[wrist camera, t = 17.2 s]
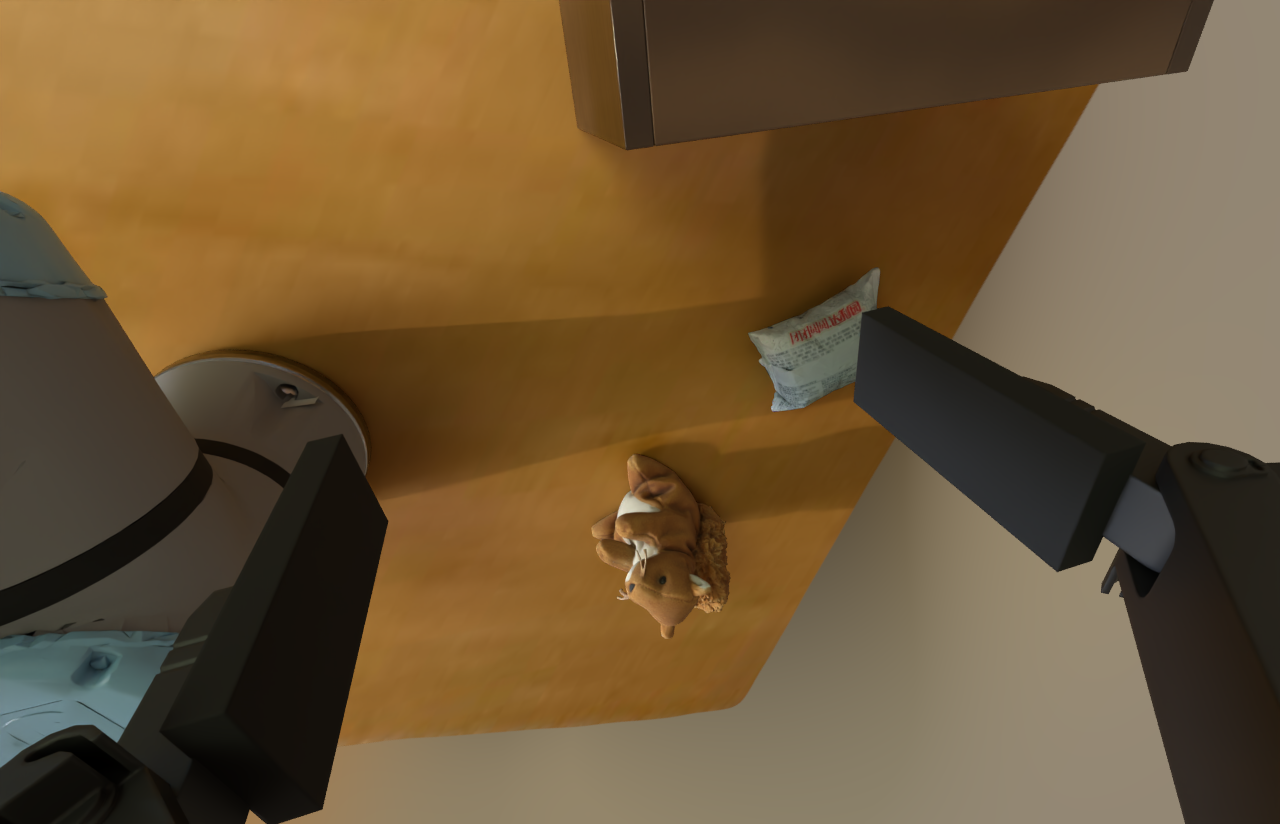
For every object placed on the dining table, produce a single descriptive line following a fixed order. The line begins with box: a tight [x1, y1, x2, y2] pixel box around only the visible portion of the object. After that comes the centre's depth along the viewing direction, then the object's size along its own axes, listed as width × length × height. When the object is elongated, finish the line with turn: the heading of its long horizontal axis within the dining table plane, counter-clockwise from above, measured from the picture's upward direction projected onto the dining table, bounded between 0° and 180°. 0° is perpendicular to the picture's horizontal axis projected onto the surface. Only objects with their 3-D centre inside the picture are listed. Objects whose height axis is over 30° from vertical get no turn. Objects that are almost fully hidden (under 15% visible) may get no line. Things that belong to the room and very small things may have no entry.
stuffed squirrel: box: [592, 454, 731, 639], centre depth 48 cm, size 10×14×13 cm
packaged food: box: [748, 267, 880, 412], centre depth 45 cm, size 9×12×5 cm
